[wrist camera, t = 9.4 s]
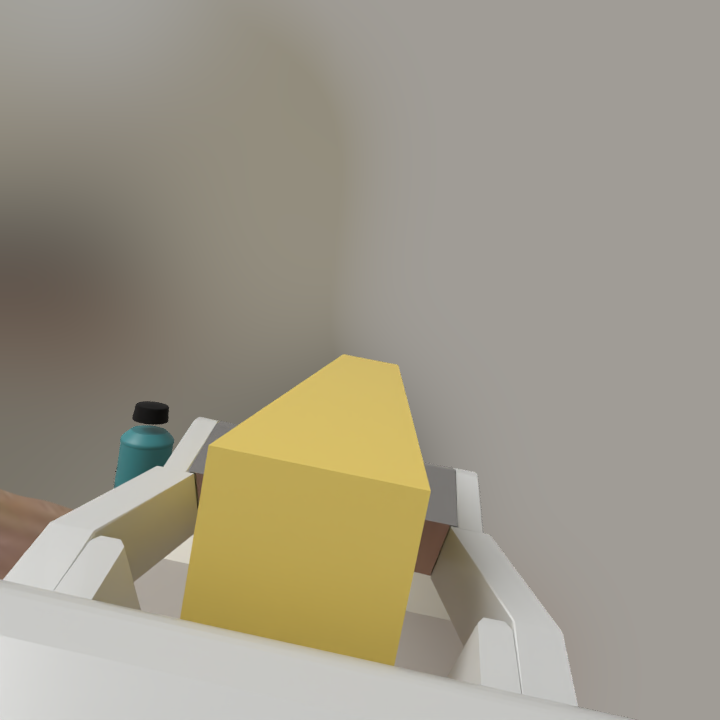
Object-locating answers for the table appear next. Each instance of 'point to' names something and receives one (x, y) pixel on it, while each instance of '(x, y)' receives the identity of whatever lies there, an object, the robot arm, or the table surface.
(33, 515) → the table surface
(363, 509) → the mustard bar
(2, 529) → the table surface
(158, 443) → the beverage bottle
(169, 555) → the off-white stand
